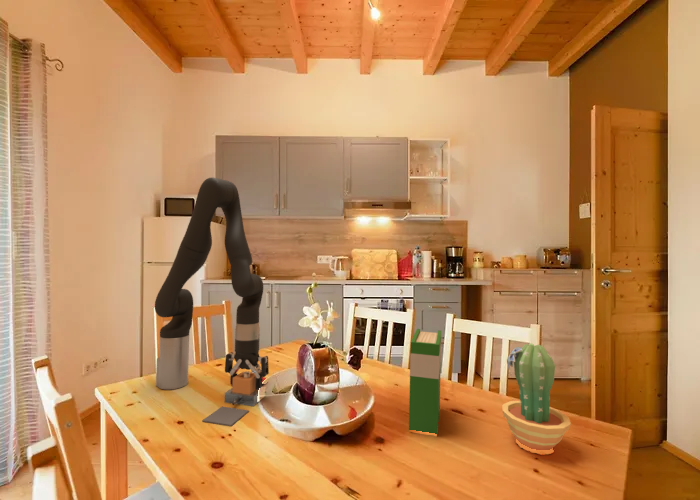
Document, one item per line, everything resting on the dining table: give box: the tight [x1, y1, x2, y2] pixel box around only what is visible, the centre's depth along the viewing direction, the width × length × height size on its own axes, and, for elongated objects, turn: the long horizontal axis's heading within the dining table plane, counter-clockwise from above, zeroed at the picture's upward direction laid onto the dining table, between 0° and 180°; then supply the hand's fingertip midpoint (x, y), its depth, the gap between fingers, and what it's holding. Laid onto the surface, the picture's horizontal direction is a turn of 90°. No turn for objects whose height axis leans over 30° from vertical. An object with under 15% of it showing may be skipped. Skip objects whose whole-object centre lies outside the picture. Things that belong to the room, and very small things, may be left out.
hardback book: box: [408, 328, 442, 435], centre depth 99 cm, size 18×7×24 cm, turn 164°
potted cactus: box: [502, 343, 572, 450], centre depth 87 cm, size 15×15×25 cm
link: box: [231, 371, 257, 394], centre depth 110 cm, size 6×6×4 cm
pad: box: [202, 406, 250, 427], centre depth 98 cm, size 9×9×1 cm
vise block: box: [224, 370, 258, 407], centre depth 109 cm, size 10×11×8 cm
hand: (246, 387), depth 110 cm, fingers open, 8 cm apart
